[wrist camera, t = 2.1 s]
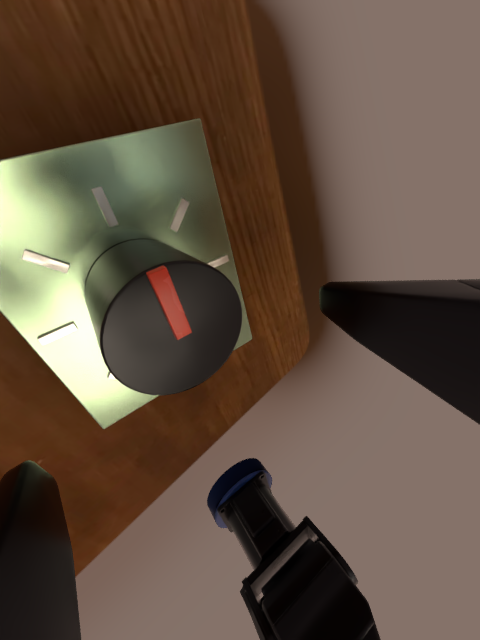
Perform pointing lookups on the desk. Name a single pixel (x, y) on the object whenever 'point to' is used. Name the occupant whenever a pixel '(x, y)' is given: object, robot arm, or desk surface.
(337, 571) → the robot arm
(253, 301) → the desk surface
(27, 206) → the dial panel
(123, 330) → the pointer wheel
